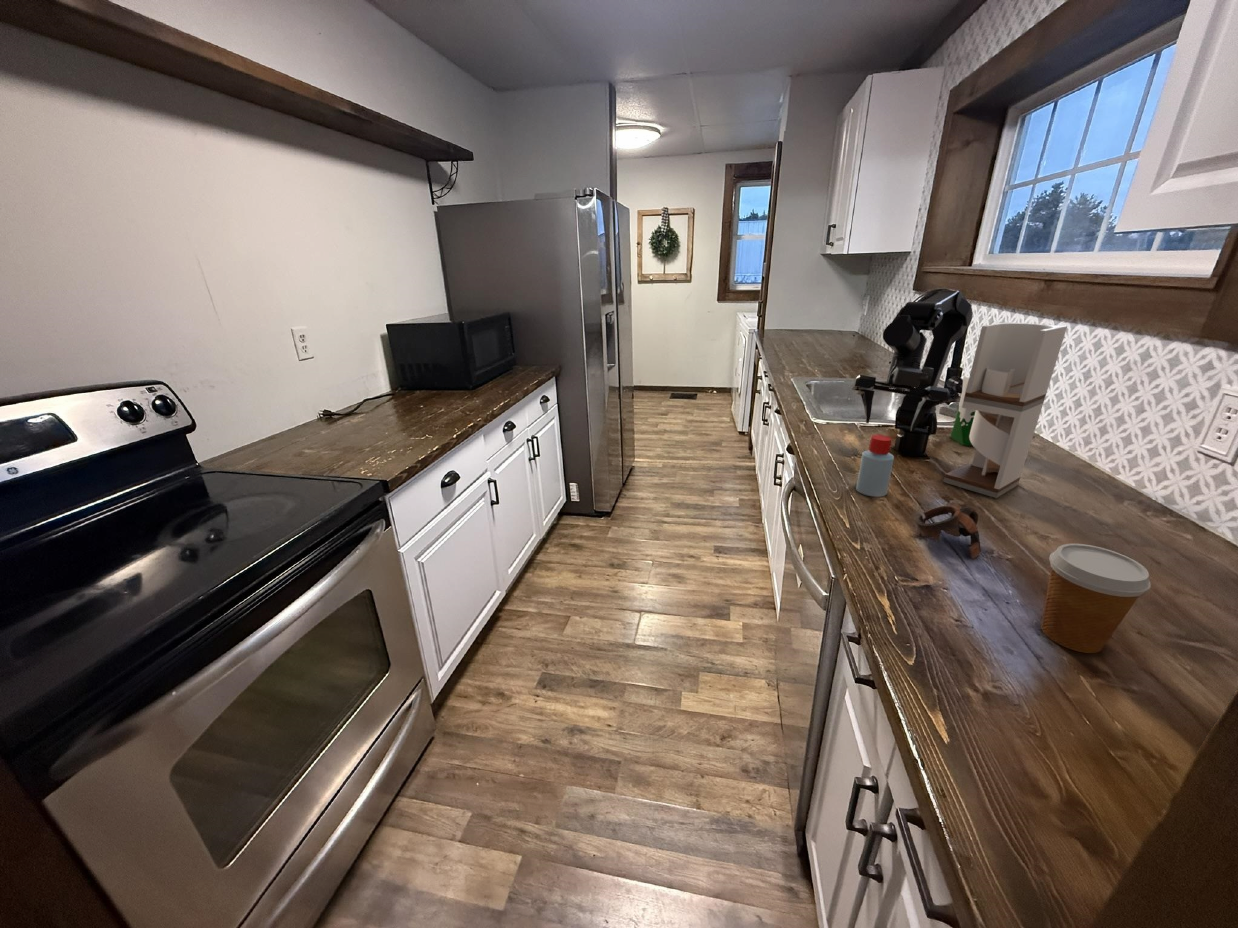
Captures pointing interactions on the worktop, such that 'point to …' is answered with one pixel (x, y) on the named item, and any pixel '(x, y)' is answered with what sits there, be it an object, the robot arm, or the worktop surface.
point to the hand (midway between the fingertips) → (889, 427)
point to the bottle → (874, 473)
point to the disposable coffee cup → (1090, 595)
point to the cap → (880, 444)
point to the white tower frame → (1006, 402)
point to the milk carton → (963, 419)
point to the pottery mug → (951, 525)
